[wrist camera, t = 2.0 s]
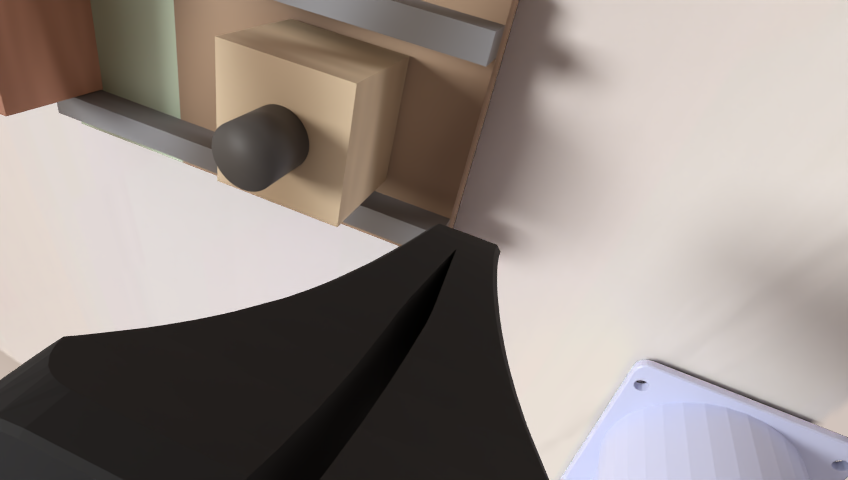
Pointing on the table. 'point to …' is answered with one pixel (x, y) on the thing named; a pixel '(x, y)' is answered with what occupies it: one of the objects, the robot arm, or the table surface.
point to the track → (196, 81)
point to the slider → (305, 116)
